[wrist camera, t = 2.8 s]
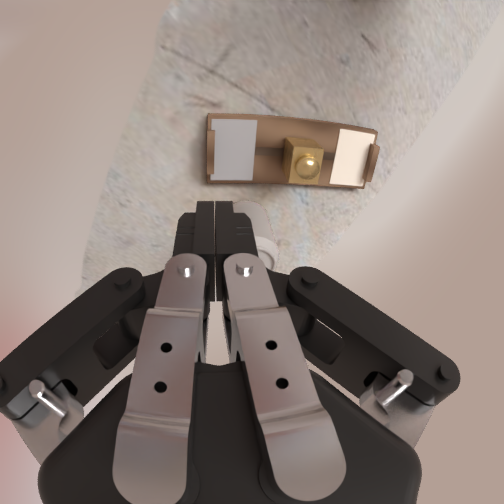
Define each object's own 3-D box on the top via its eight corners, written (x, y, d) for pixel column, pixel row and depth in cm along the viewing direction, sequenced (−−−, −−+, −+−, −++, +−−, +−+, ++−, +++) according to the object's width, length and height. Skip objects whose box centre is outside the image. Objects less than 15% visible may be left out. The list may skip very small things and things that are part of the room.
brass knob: (285, 136, 36) (296, 149, 32) (313, 139, 36) (326, 151, 32) (281, 169, 39) (290, 186, 35) (308, 171, 39) (320, 187, 35)
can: (214, 228, 46) (215, 280, 37) (233, 191, 42) (239, 236, 33) (254, 242, 49) (265, 292, 40) (275, 207, 45) (292, 254, 36)
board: (208, 113, 34) (207, 117, 32) (373, 129, 38) (382, 135, 36) (207, 178, 41) (206, 187, 38) (360, 184, 44) (367, 193, 42)
